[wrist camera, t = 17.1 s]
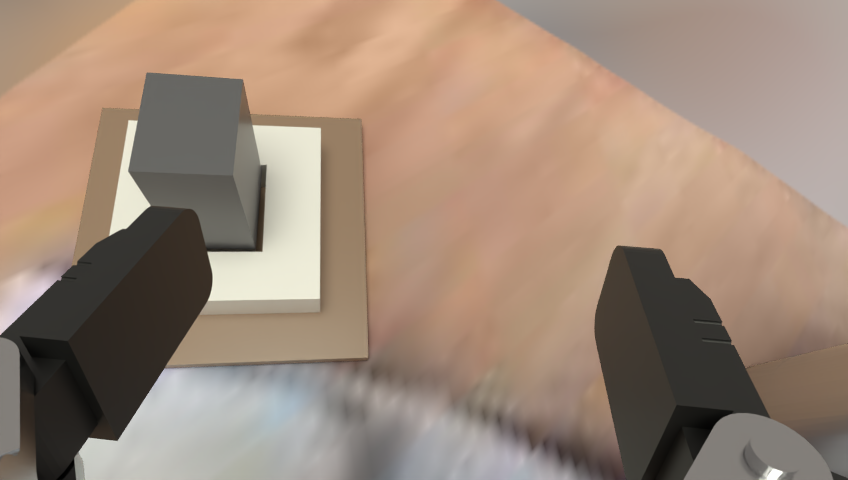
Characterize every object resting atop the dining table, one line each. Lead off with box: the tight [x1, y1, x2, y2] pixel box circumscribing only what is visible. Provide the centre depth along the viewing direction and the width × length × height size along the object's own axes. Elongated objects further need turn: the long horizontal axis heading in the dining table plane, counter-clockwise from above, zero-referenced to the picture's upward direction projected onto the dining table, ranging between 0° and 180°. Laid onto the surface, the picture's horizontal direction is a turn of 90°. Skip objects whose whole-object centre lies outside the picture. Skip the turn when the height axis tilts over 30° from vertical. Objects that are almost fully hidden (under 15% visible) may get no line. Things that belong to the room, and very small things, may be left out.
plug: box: [128, 73, 262, 252], centre depth 30 cm, size 4×5×12 cm
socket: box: [72, 108, 368, 368], centre depth 35 cm, size 18×18×4 cm
